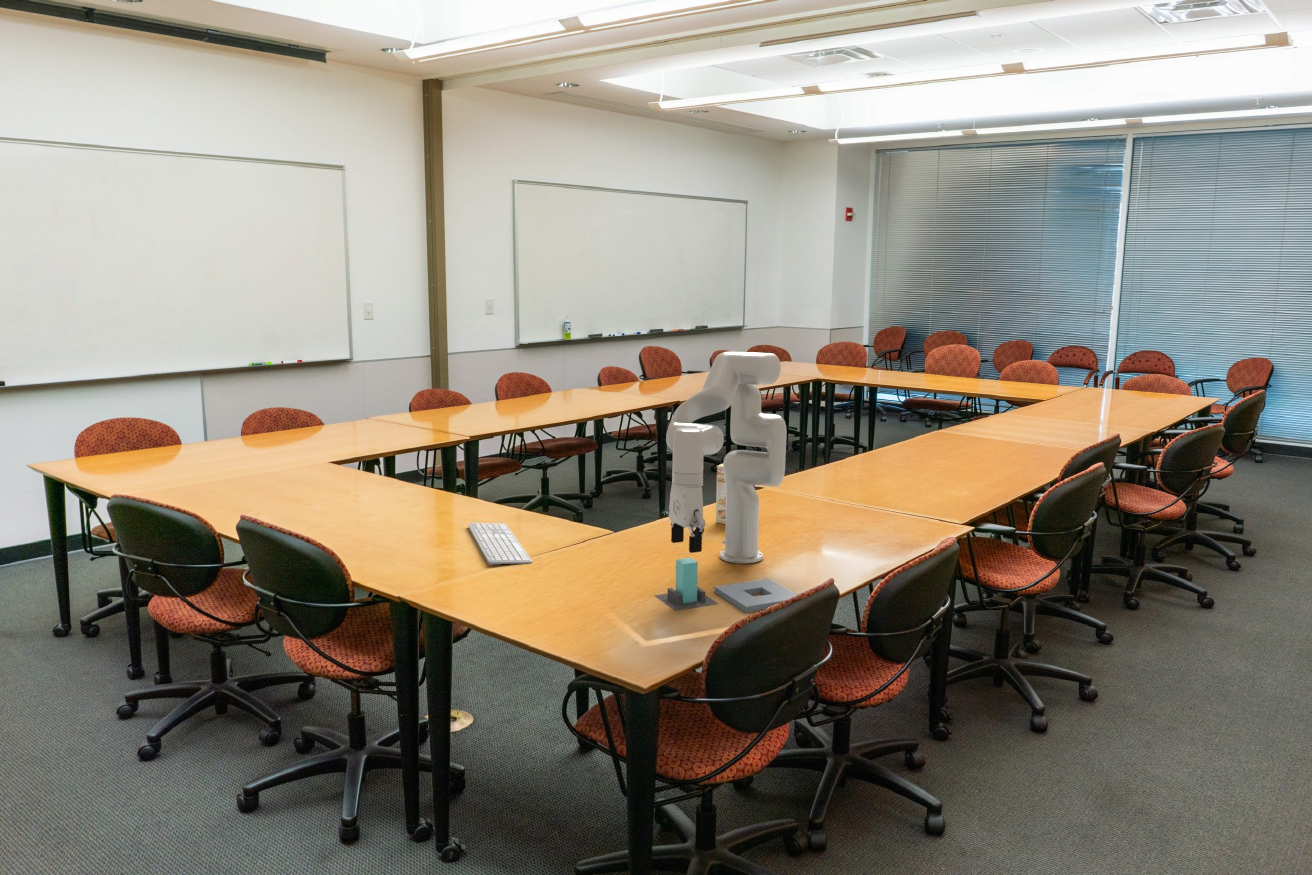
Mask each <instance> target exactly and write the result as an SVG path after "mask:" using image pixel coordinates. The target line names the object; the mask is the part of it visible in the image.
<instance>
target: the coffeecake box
mask: <svg viewBox="0 0 1312 875" xmlns="http://www.w3.org/2000/svg"><path fill="white" fill-rule="evenodd" d="M752 486H753V487H754V485H752ZM715 492H716V493H715V494H716V495H715V496H716V497H715V498H716V499H715V501H716V502H715V504H716V505H715V523H716V524H718V523H719V524H723V525H726V483H725V476H724V469H723V463H721V464H719V465H716V491H715Z"/></svg>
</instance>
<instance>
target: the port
mask: <svg viewBox="0 0 1312 875" xmlns="http://www.w3.org/2000/svg"><path fill="white" fill-rule="evenodd" d="M713 588H714V589H713V590H714V594H716V595H717V596H719V597H721V598H722V599H724V600H725V601H726V602H728V603H730V604H732V605H733V606H735V607H737V609H740V610H741V611H743V612H744V613H745V614H747V613H752V612H759V611H764V610H763V609H766V608H768V607H770V606H773V605H775V604H777V603H780V602H783V601H785V600H788V599H790V598H792V597H795V596H797V595H798V593H796V592H794V591H792V590H790V589H788V588H786V587H784V586H783V585H781V584H778V583H777V582H775V581H773V580H772V579H770V578H763V579H756V580H750V581H743V582H737V583H731V584H721V585H718V586H717V585H716V586H714V587H713ZM759 594H762V595H759ZM753 595H757V596H753ZM766 610H767V609H766Z"/></svg>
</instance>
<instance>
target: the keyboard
mask: <svg viewBox="0 0 1312 875" xmlns="http://www.w3.org/2000/svg"><path fill="white" fill-rule="evenodd" d="M467 525H468V529H469V531H470V533H471V534H472V537H473V538H474V541H475V542H476V544H477V546H478V547H479V549H480V551H481V553H482V554H483V557H484V558H485V560H486V562H487V564H488V565H489V567H490V566H491V567H493V566H500V565H502V564H504V565H505V564H507V565H508V564H509V565H513V564H514V565H515V564H516V565H517V564H519V565H521V564H522V565H523V564H532V563H533V560H532V558H531V557H530V555H529V554H528V553H527V550H526V549H525V548H524V547H523V545H522V544H521V543H520V541H519V540H518V538H517V537H516V536H515V535H514V533H513V532H512V530H511V529H510V528H509V526H508V524H506V523H488V522H487V523H483V522H480V523H479V522H468V523H467Z"/></svg>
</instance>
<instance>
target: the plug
mask: <svg viewBox="0 0 1312 875" xmlns="http://www.w3.org/2000/svg"><path fill="white" fill-rule="evenodd" d="M698 565H699V562H698V561H696V560H695V559H693V558H691V557H685V558H678V559H675V591H677V592H678V593H679V594H681V595H682V603H687V602H694V601H697V586H698V572H699V571H698Z"/></svg>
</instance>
